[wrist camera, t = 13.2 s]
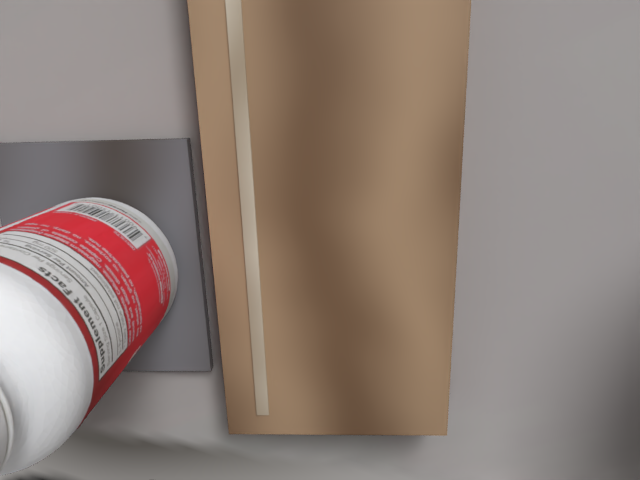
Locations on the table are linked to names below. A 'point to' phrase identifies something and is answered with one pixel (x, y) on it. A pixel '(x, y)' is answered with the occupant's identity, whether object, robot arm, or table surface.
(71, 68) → the table surface
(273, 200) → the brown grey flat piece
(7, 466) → the pill bottle
